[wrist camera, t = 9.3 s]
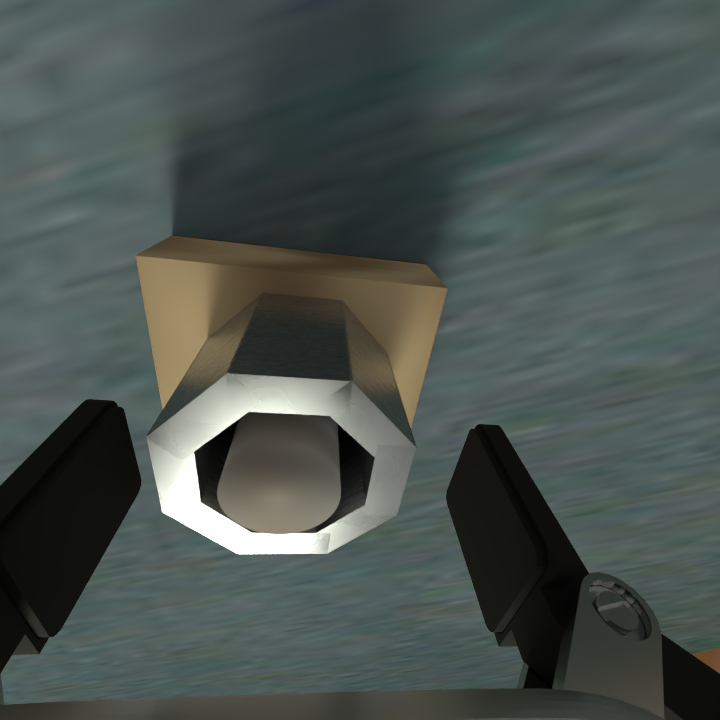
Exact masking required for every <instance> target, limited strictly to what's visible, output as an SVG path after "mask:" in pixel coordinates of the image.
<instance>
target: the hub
mask: <svg viewBox="0 0 720 720" xmlns="http://www.w3.org/2000/svg"><path fill="white" fill-rule="evenodd" d="M248 412H262V413H282V414H302V415H322V416H330V417H331V418H332V419H333V420H334V421H335V422H336V423H338V442H339V463H340V484H341V498H340V502H339V505H338V507H337V509H336V510H335V512H334V513H333V514H332V515H331V516H330V517H329V518H328V519H327V520H326V521H324V522H323V523H321V524H319V525H318V526H316V527H313V528H311V529H308V530H305V531H302V532H297V533H291V534H267V533H261V532H257V531H253V530H250V529H248V528H245V527H243V526H241V525H239V524H237V523H236V522H234V521H233V520H232V519H230V518H229V517H228V516H227V515H226V514H225V513H224V511H223V510H222V508H221V507H220V504H219V502H218V498H217V488H218V484H219V481H220V477H221V474H222V471H223V468H224V465H225V462H226V459H227V456H228V452H229V449H230V446H231V443H232V440H233V437H234V434H235V430H236V427H237V424H238V421H239V419H240V418H241V417H242V416H244V415H245V414H246V413H248ZM146 438H147V442H148V447H149V451H150V456H151V461H152V465H153V470H154V475H155V480H156V484H157V489H158V494H159V498H160V503H161V508H162V512H163V513H165V514H166V515H168V516H170V517H172V518H174V519H176V520H177V521H179V522H181V523H183V524H185V525H186V526H188V527H190V528H192V529H194V530H195V531H197V532H199V533H201V534H203V535H205V536H206V537H208V538H210V539H212V540H214V541H215V542H217V543H219V544H221V545H223V546H224V547H226V548H228V549H230V550H232V551H234V552H235V553H237V554H328V553H329V552H331V551H333V550H334V549H336V548H338V547H340V546H342V545H343V544H345V543H347V542H349V541H351V540H353V539H354V538H356V537H358V536H360V535H362V534H363V533H365V532H367V531H369V530H371V529H372V528H374V527H376V526H378V525H380V524H382V523H383V522H385V521H387V520H389V519H391V518H392V517H394V516H397V515H398V514H397V513H398V510H399V506H400V503H401V499H402V496H403V492H404V488H405V485H406V481H407V478H408V474H409V471H410V467H411V464H412V460H413V457H414V453H415V450H416V448H417V447H416V444H415V441H414V438H413V434H412V431H411V428H410V425H409V421H408V418H407V415H406V412H405V409H404V405H403V402H402V399H401V396H400V392H399V389H398V386H397V383H396V380H395V376H394V373H393V370H392V367H391V363H390V360H389V357H388V354H387V352H386V351H385V350H384V348H383V347H382V346H381V345H380V344H379V343H378V341H377V340H376V339H375V338H374V337H373V336H372V334H371V333H370V332H369V331H368V330H367V328H366V327H365V326H364V325H363V324H362V323H361V321H360V320H359V319H358V318H357V317H356V316H355V314H354V313H353V312H352V311H351V310H350V309H349V307H348V306H347V305H346V304H345V303H344V302H343V300H336V299H325V298H315V297H304V296H294V295H283V294H273V293H264V292H262V293H261V294H260V295H259V296H258V297H257V298H256V299H254V300H253V301H252V302H251V303H250V304H248V305H247V306H246V307H245V308H244V309H242V310H241V311H240V312H239V313H238V314H236V315H235V316H234V317H233V318H232V319H230V320H229V321H228V322H227V323H226V324H224V325H223V326H222V327H221V328H220V329H218V330H217V331H216V332H215V333H214V334H212V335H211V336H210V337H209V338H207V340H206V341H205V343H204V344H203V346H202V348H201V349H200V351H199V352H198V354H197V356H196V357H195V359H194V360H193V362H192V364H191V365H190V367H189V368H188V370H187V372H186V373H185V375H184V376H183V378H182V380H181V381H180V383H179V384H178V386H177V388H176V389H175V391H174V392H173V394H172V396H171V397H170V399H169V400H168V402H167V404H166V405H165V407H164V408H163V410H162V412H161V413H160V415H159V416H158V418H157V420H156V421H155V423H154V424H153V426H152V428H151V429H150V431H149V432H148V434H147V436H146Z"/></svg>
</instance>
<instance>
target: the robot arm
mask: <svg viewBox="0 0 720 720" xmlns="http://www.w3.org/2000/svg"><path fill="white" fill-rule="evenodd" d="M140 487H141V477H140V473H139V469H138V464H137V460H136V456H135V452H134V448H133V444H132V440H131V436H130V432H129V428H128V424H127V420H126V416H125V412H124V409H123V408H122V407H118V406H117V403H116V402H115V401H109V400H93V399H88V400H85V401H84V402H83V403H82V404H81V405H80V406H79V407H78V408H77V409H76V410H75V411H74V412H73V413H72V414H71V415H70V416H69V417H68V418H67V419H66V420H65V421H64V422H63V423H62V424H61V425H60V426H59V427H58V428H57V429H56V430H55V431H54V432H53V433H52V434H51V435H50V436H49V437H48V438H47V439H46V440H45V441H44V442H43V443H42V444H41V445H40V446H39V447H38V448H37V449H36V450H35V451H34V452H33V453H32V454H31V455H30V456H29V457H28V458H27V459H26V460H25V461H24V462H23V463H22V464H21V465H20V466H19V467H18V468H17V469H16V470H15V471H14V472H13V473H12V474H11V475H10V476H9V477H8V478H7V479H6V480H5V481H4V482H3V483H2V485H1V486H0V720H720V674H719V673H717V672H716V671H715V670H713V669H712V668H710V667H709V666H708V665H706V664H704V663H703V662H702V661H700V660H699V659H697V658H696V657H695V656H693V655H692V654H690V653H689V652H687V651H686V650H684V649H683V648H681V647H680V646H679V645H677V644H676V643H674V642H673V641H671V640H670V639H668V638H667V637H666V636H664V635H663V634H661V630H660V626H659V622H658V620H657V618H656V616H655V614H654V612H653V610H652V609H651V608H650V606H649V605H648V604H647V603H646V601H645V600H644V599H643V598H642V597H641V596H640V595H639V594H638V593H637V592H636V591H635V590H634V589H633V588H632V587H630V586H629V585H627V584H626V583H624V582H623V581H622V580H620V579H618V578H616V577H614V576H611V575H609V574H605V573H600V572H596V573H590V574H589V573H588V571H587V569H586V568H585V566H584V564H583V563H582V561H581V559H580V558H579V556H578V554H577V553H576V551H575V549H574V548H573V546H572V544H571V543H570V541H569V539H568V538H567V536H566V534H565V533H564V531H563V529H562V528H561V526H560V524H559V523H558V521H557V519H556V518H555V516H554V514H553V513H552V511H551V509H550V508H549V506H548V504H547V503H546V501H545V500H544V498H543V496H542V495H541V493H540V491H539V490H538V488H537V486H536V485H535V483H534V481H533V480H532V478H531V476H530V475H529V473H528V471H527V470H526V468H525V466H524V465H523V463H522V461H521V460H520V458H519V456H518V455H517V453H516V452H515V450H514V448H513V447H512V445H511V443H510V442H509V440H508V438H507V437H506V435H505V433H504V432H503V430H502V428H501V427H500V426H498V425H485V424H478V425H477V426H476V427H475V429H471V430H470V431H469V434H468V436H467V439H466V442H465V444H464V447H463V450H462V452H461V455H460V458H459V460H458V463H457V466H456V468H455V471H454V474H453V476H452V479H451V482H450V484H449V487H448V490H447V494H446V499H447V505H448V508H449V511H450V514H451V517H452V520H453V523H454V527H455V530H456V533H457V536H458V539H459V542H460V545H461V548H462V552H463V555H464V558H465V561H466V564H467V567H468V570H469V573H470V576H471V580H472V583H473V586H474V589H475V592H476V595H477V598H478V601H479V605H480V608H481V611H482V614H483V617H484V620H485V623H486V626H487V628H488V629H489V630H490V631H491V632H494V633H495V636H496V639H497V642H498V645H499V646H518V649H519V651H520V654H521V657H522V659H523V661H524V662H523V666H522V670H521V673H520V677H519V681H518V685H517V689H446V690H408V691H369V692H335V693H302V694H270V695H239V696H208V697H180V698H152V699H125V700H98V701H70V702H48V703H30V704H12V705H4V698H3V689H2V680H1V672H2V670H3V668H4V667H5V665H6V664H7V662H8V661H9V659H10V657H11V656H12V655H19V654H40V652H41V650H42V649H43V647H44V645H45V643H46V642H47V640H48V638H49V637H54V636H55V635H56V634H57V633H58V632H59V631H60V630H61V628H62V627H63V625H64V623H65V622H66V620H67V618H68V616H69V614H70V613H71V611H72V609H73V607H74V606H75V604H76V602H77V600H78V599H79V597H80V595H81V593H82V592H83V590H84V588H85V586H86V584H87V583H88V581H89V579H90V577H91V576H92V574H93V572H94V570H95V569H96V567H97V565H98V563H99V562H100V560H101V558H102V556H103V554H104V553H105V551H106V549H107V547H108V546H109V544H110V542H111V540H112V539H113V537H114V535H115V533H116V532H117V530H118V528H119V526H120V525H121V523H122V521H123V519H124V517H125V516H126V514H127V512H128V510H129V509H130V507H131V505H132V503H133V502H134V500H135V498H136V496H137V495H138V492H139V490H140Z"/></svg>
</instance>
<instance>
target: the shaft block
mask: <svg viewBox="0 0 720 720" xmlns="http://www.w3.org/2000/svg"><path fill="white" fill-rule="evenodd" d="M136 260H137V266H138V272H139V278H140V283H141V289H142V295H143V300H144V306H145V312H146V318H147V323H148V329H149V335H150V340H151V346H152V352H153V358H154V363H155V369H156V375H157V380H158V386H159V392H160V398H161V403H162V409H163V408H164V407H165V405H166V404H167V402H168V400H169V399H170V397H171V396H172V394H173V392H174V391H175V389H176V388H177V386H178V384H179V383H180V381H181V380H182V378H183V376H184V375H185V373H186V372H187V370H188V368H189V367H190V365H191V364H192V362H193V360H194V359H195V357H196V356H197V354H198V352H199V351H200V349H201V348H202V346H203V344H204V343H205V341H206V340H207V338H209V337H210V336H211V335H212V334H214V333H215V332H216V331H217V330H218V329H220V328H221V327H222V326H223V325H224V324H226V323H227V322H228V321H229V320H230V319H232V318H233V317H234V316H235V315H236V314H238V313H239V312H240V311H241V310H242V309H244V308H245V307H246V306H247V305H248V304H250V303H251V302H252V301H253V300H254V299H256V298H257V297H258V296H259V295H260V294H261V293H262V292H264V293H273V294H283V295H294V296H304V297H315V298H325V299H336V300H343V302H344V303H345V304H346V305H347V306H348V307H349V309H350V310H351V311H352V312H353V313H354V314H355V316H356V317H357V318H358V319H359V320H360V321H361V323H362V324H363V325H364V326H365V327H366V328H367V330H368V331H369V332H370V333H371V334H372V336H373V337H374V338H375V339H376V340H377V341H378V343H379V344H380V345H381V346H382V347H383V348H384V350H385V351H386V352H387V354H388V357H389V360H390V363H391V367H392V370H393V373H394V376H395V380H396V383H397V386H398V389H399V392H400V396H401V399H402V402H403V405H404V409H405V412H406V415H407V418H408V421H409V425H410V428H411V426H412V422H413V418H414V415H415V411H416V407H417V403H418V399H419V396H420V392H421V388H422V384H423V380H424V377H425V373H426V369H427V365H428V362H429V358H430V354H431V350H432V346H433V343H434V339H435V335H436V331H437V327H438V324H439V320H440V316H441V312H442V308H443V305H444V301H445V297H446V293H447V289H448V288H447V287H446V286H445V285H444V284H443V282H442V281H441V280H440V279H439V278H438V277H437V276H436V275H435V274H434V272H433V271H432V270H431V269H430V268H429V267H428V266H427V265H426V264H417V263H408V262H400V261H391V260H382V259H373V258H364V257H356V256H347V255H338V254H329V253H320V252H312V251H303V250H294V249H285V248H276V247H268V246H259V245H250V244H241V243H232V242H224V241H215V240H206V239H197V238H188V237H180V236H170V237H168V238H167V239H165V240H163V241H161V242H159V243H158V244H156V245H154V246H152V247H150V248H148V249H147V250H145V251H143V252H141V253H139V254H138V255H136ZM217 498H218V502H219V504H220V507H221V508H222V510H223V511H224V513H225V514H226V515H227V516H228V517H229V518H230V519H232V520H233V521H234V522H236V523H237V524H239V525H241V526H243V527H245V528H248V529H250V530H253V531H257V532H261V533H267V534H291V533H297V532H302V531H305V530H308V529H311V528H313V527H316V526H318V525H319V524H321V523H323V522H324V521H326V520H327V519H328V518H329V517H330V516H331V515H332V514H333V513H334V512H335V510H336V509H337V507H338V505H339V502H340V498H341V484H340V463H339V442H338V423H336V422H335V421H334V420H333V419H332V418H331V417H330V416H322V415H302V414H282V413H262V412H248V413H246V414H245V415H244V416H242V417H241V418H240V419H239V421H238V424H237V427H236V430H235V434H234V437H233V440H232V443H231V446H230V449H229V452H228V456H227V459H226V462H225V465H224V468H223V471H222V474H221V477H220V481H219V484H218V488H217Z"/></svg>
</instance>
